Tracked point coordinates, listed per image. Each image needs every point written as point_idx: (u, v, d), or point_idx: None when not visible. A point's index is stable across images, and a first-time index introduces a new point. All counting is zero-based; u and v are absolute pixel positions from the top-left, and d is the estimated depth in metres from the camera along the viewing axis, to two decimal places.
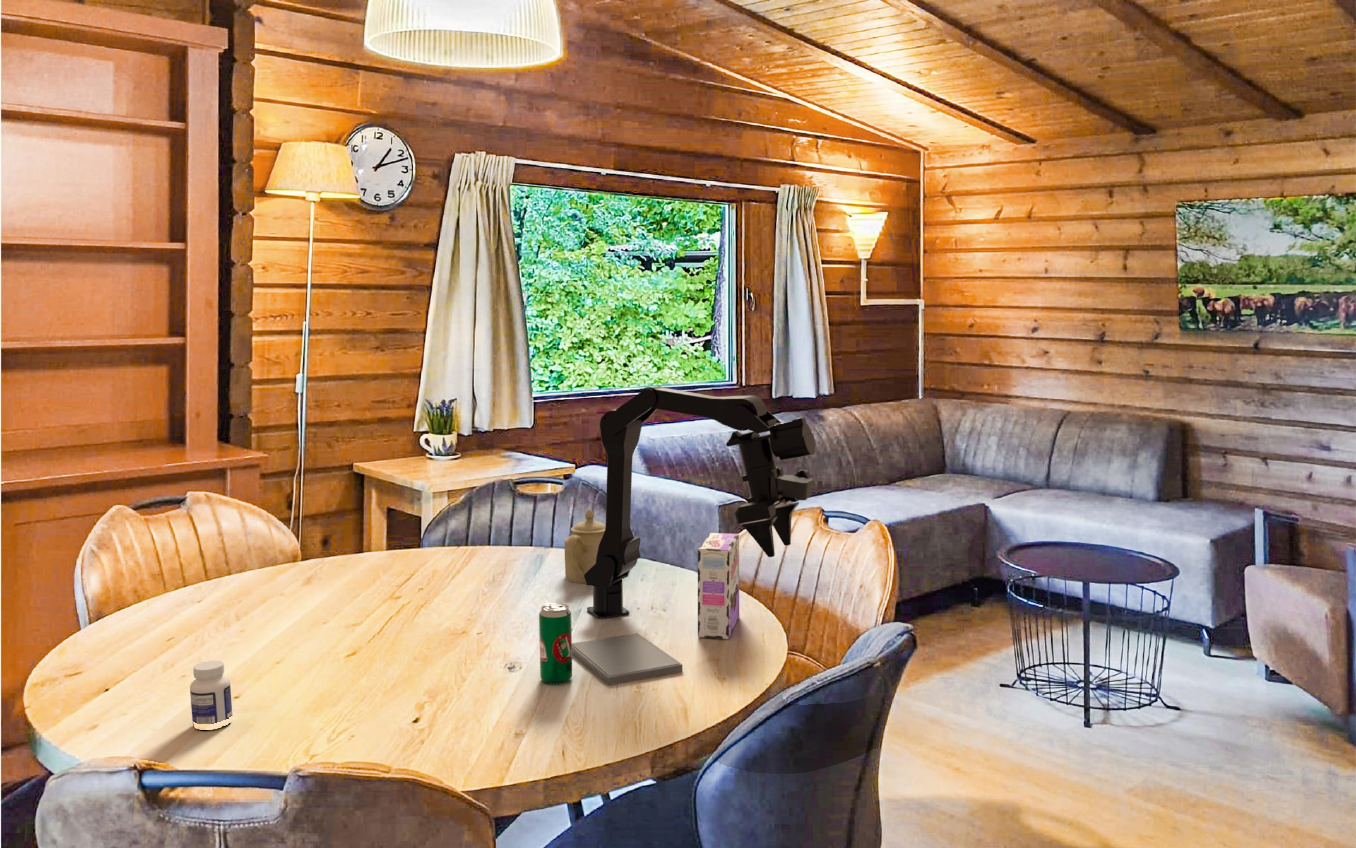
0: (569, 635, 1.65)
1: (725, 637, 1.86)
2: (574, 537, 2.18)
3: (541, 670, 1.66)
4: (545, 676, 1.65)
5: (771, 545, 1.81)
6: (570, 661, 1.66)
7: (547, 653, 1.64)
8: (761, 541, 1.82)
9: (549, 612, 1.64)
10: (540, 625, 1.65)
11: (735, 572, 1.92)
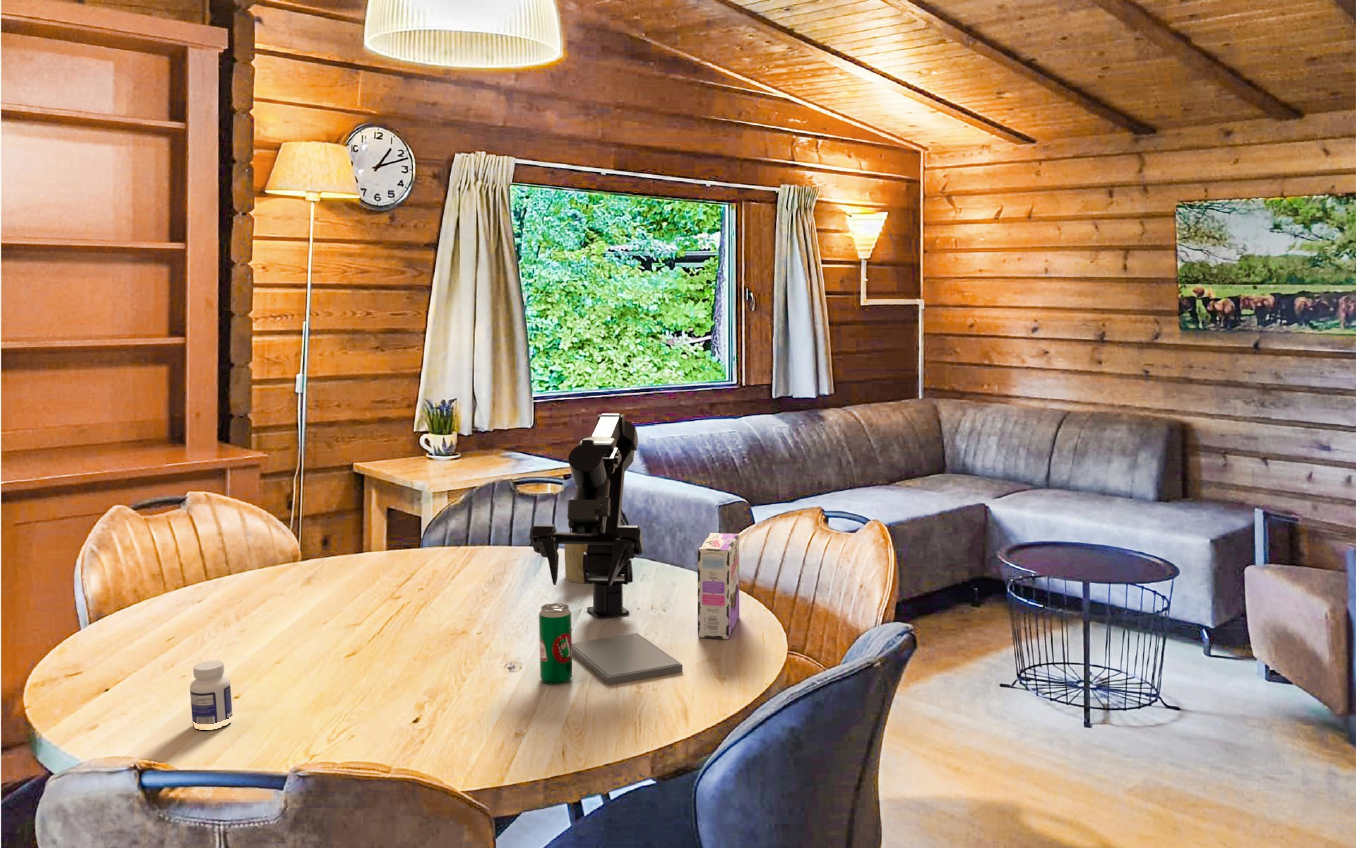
0: (569, 635, 1.65)
1: (725, 637, 1.86)
2: None
3: (541, 670, 1.66)
4: (545, 676, 1.65)
5: (550, 571, 1.74)
6: (570, 661, 1.66)
7: (547, 653, 1.64)
8: None
9: (549, 612, 1.64)
10: (540, 625, 1.65)
11: (735, 572, 1.92)
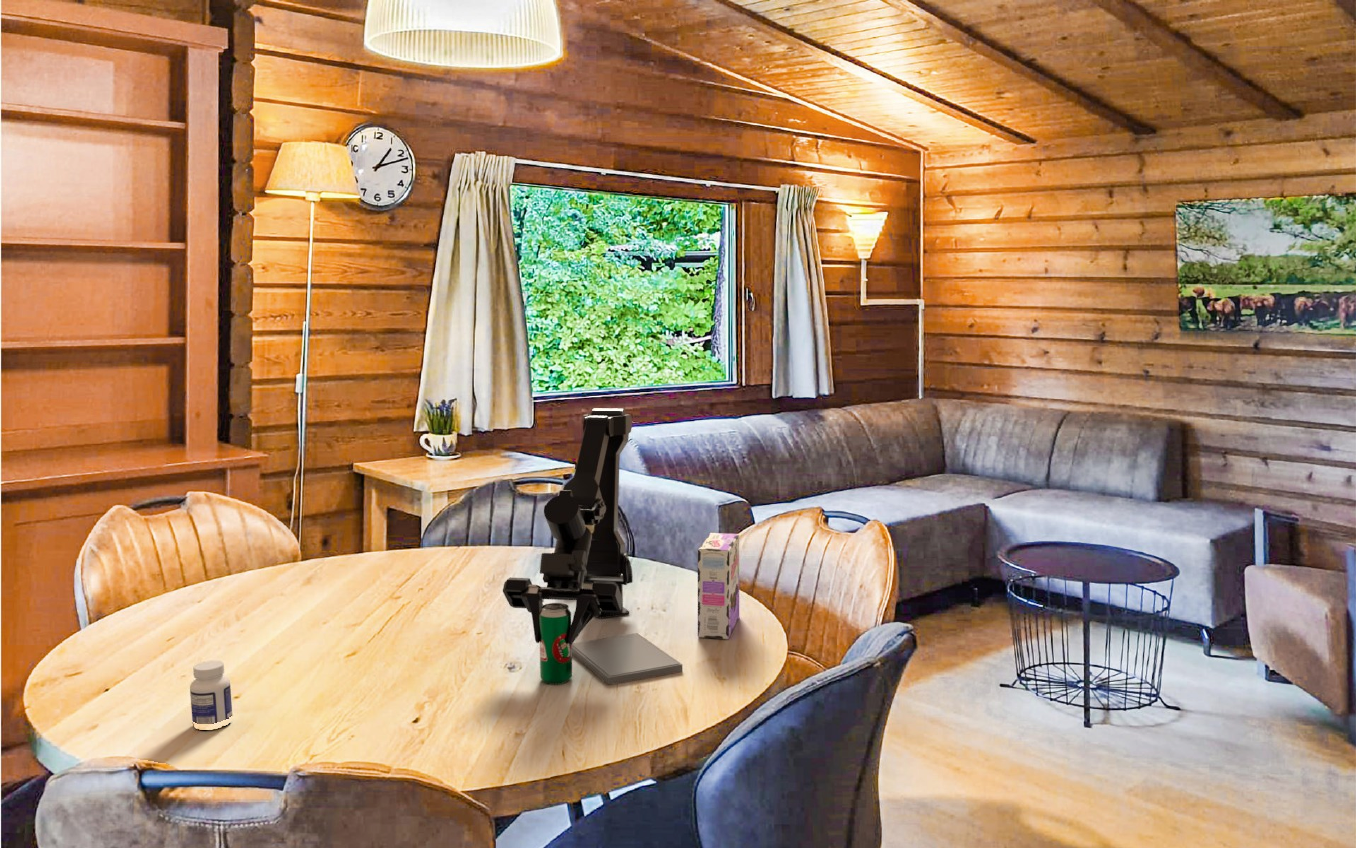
0: None
1: (725, 637, 1.86)
2: None
3: (541, 670, 1.66)
4: (545, 676, 1.65)
5: None
6: (570, 661, 1.66)
7: (547, 653, 1.64)
8: None
9: (549, 612, 1.64)
10: (540, 625, 1.65)
11: (735, 572, 1.92)
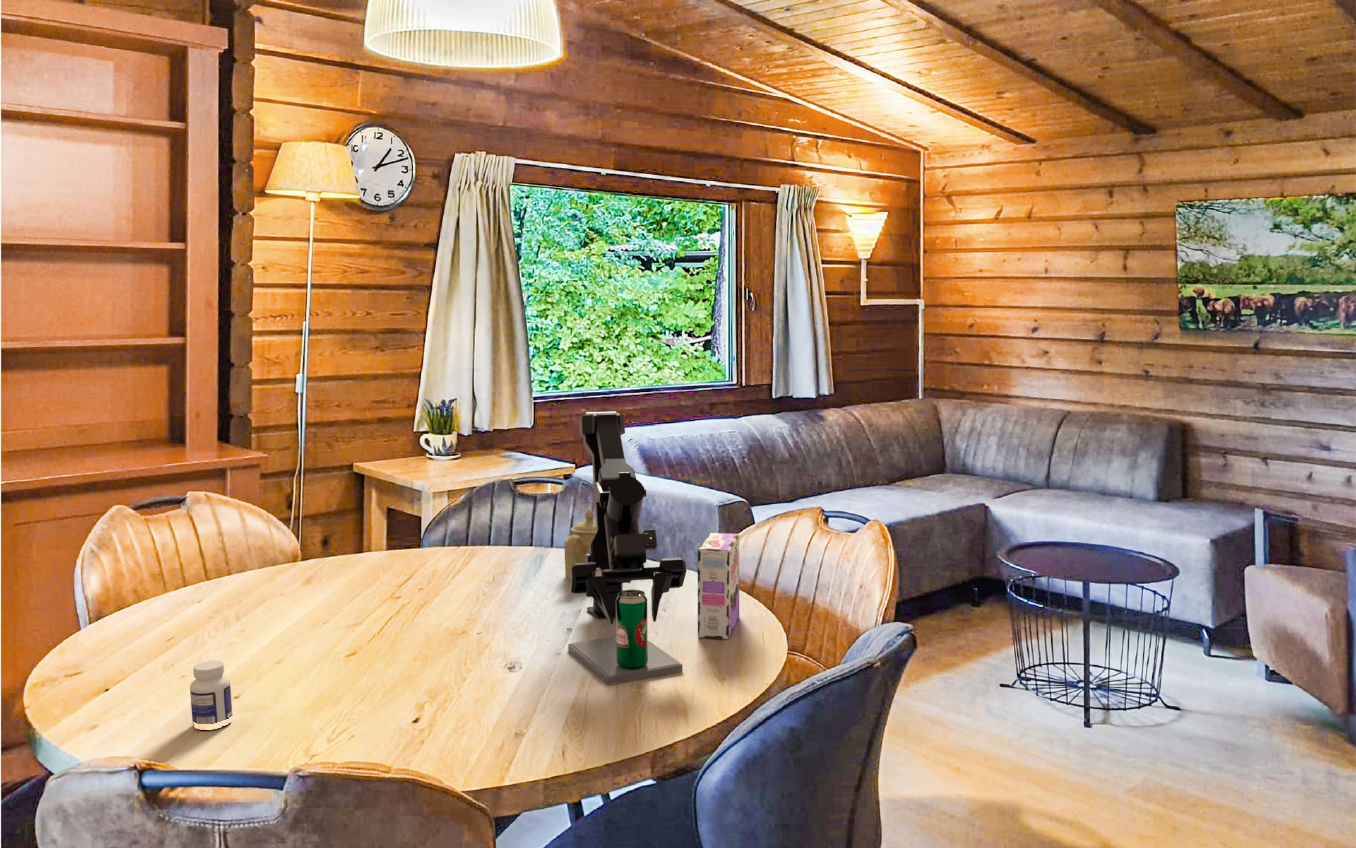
0: (646, 619, 1.69)
1: (725, 637, 1.86)
2: (574, 537, 2.18)
3: (621, 657, 1.68)
4: (627, 662, 1.67)
5: (606, 610, 1.67)
6: (647, 645, 1.69)
7: (630, 639, 1.67)
8: (602, 608, 1.69)
9: (631, 598, 1.66)
10: (620, 612, 1.67)
11: (735, 572, 1.92)
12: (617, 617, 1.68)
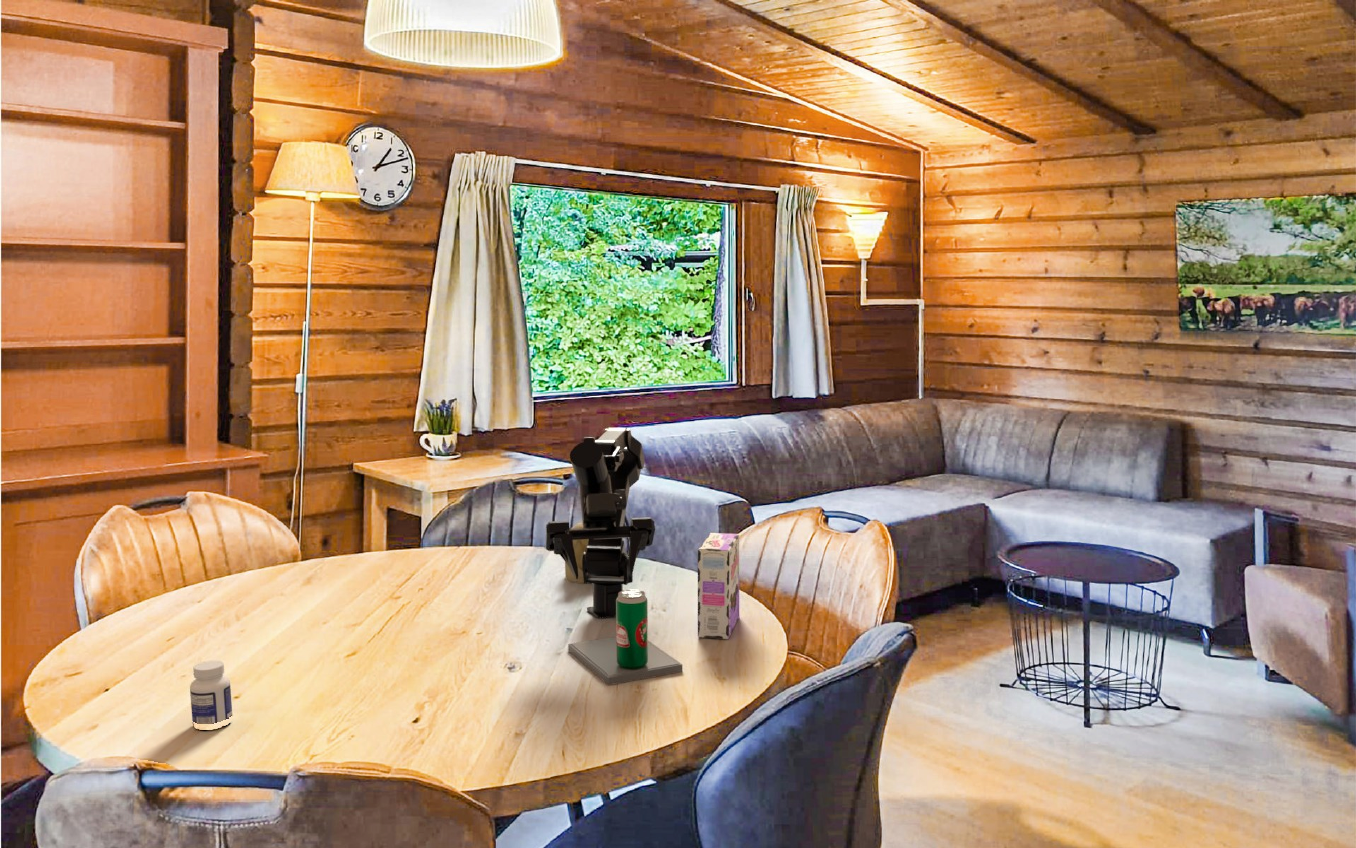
0: (647, 619, 1.69)
1: (725, 637, 1.86)
2: None
3: (621, 657, 1.68)
4: (627, 662, 1.67)
5: (571, 565, 1.77)
6: (647, 645, 1.69)
7: (630, 639, 1.67)
8: (569, 564, 1.79)
9: (631, 598, 1.66)
10: (620, 612, 1.67)
11: (735, 572, 1.92)
12: (617, 617, 1.68)
